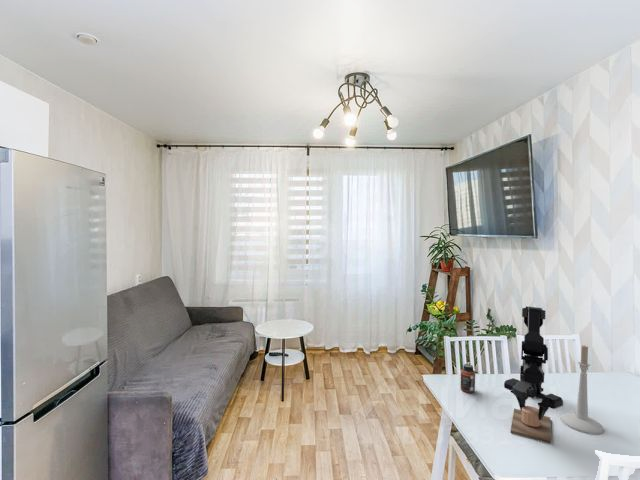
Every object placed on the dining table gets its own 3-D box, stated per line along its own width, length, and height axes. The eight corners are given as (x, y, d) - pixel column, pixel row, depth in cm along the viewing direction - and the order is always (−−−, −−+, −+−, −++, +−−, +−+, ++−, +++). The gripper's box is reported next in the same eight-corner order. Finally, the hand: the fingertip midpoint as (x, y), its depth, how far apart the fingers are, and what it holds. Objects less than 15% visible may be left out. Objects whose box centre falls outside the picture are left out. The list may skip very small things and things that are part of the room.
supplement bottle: (476, 393, 157) (476, 368, 156) (461, 392, 158) (462, 367, 157) (473, 387, 163) (473, 363, 162) (459, 386, 164) (459, 362, 163)
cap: (521, 415, 136) (522, 404, 136) (540, 420, 133) (541, 408, 132) (521, 423, 131) (521, 411, 130) (540, 428, 127) (541, 416, 127)
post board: (514, 410, 142) (514, 397, 142) (549, 419, 136) (550, 405, 136) (510, 432, 127) (510, 417, 127) (550, 443, 121) (551, 427, 121)
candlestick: (568, 430, 129) (572, 348, 128) (555, 413, 141) (558, 338, 140) (610, 436, 125) (614, 352, 124) (593, 418, 138) (596, 341, 137)
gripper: (495, 368, 135) (494, 408, 136) (545, 388, 119) (544, 434, 120) (513, 363, 141) (512, 402, 141) (564, 381, 124) (563, 425, 125)
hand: (531, 415), depth 132 cm, fingers closed on cap, 6 cm apart
